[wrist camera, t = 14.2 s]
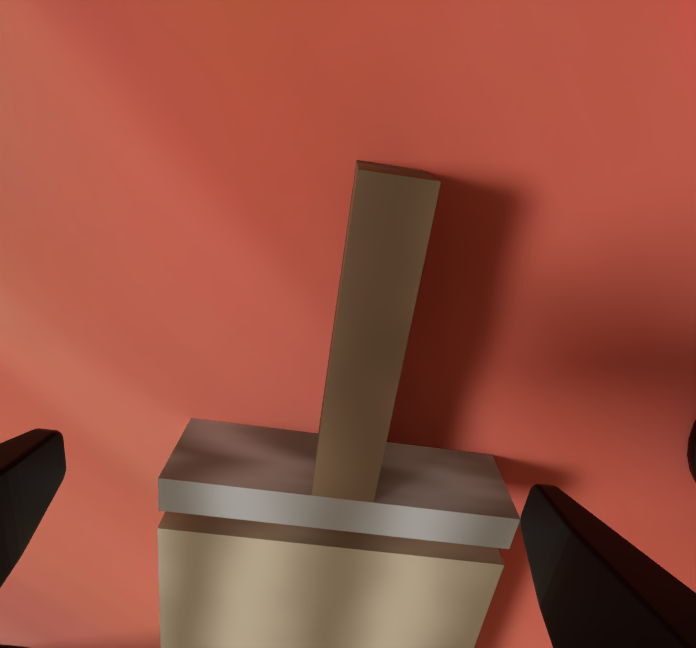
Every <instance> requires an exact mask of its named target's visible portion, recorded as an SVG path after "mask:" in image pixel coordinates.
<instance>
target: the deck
mask: <svg viewBox="0 0 696 648" xmlns="http://www.w3.org/2000/svg"><path fill="white" fill-rule="evenodd" d="M157 531H158V568H159V605H160V642H161V648H474V646H475V644H476V641H477V638H478V635H479V633H480V630H481V627H482V624H483V622H484V619H485V616H486V614H487V611H488V608H489V605H490V603H491V600H492V597H493V594H494V592H495V589H496V586H497V584H498V581H499V578H500V575H501V573H502V570H503V567H504V563H503V560H502V557H501V554H500V551H499V549H498V548H492V547H483V546H474V545H465V544H456V543H447V542H438V541H429V540H420V539H411V538H402V537H393V536H384V535H375V534H366V533H357V532H348V531H339V530H330V529H321V528H312V527H303V526H294V525H285V524H276V523H267V522H258V521H249V520H240V519H231V518H222V517H213V516H204V515H195V514H186V513H177V512H168V511H166V512H165V514H164V516H163V518H162V520H161V522H160V524H159V526H158V528H157Z"/></svg>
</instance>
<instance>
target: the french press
mask: <svg viewBox="0 0 696 648" xmlns="http://www.w3.org/2000/svg"><path fill="white" fill-rule="evenodd" d="M687 457H688V463H689V469H690V472H691V474H692V476H693V478H694V480H695V482H696V420H695V422H694V425H693V428H692V431H691V434H690V437H689V441H688V451H687Z"/></svg>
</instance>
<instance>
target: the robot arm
mask: <svg viewBox="0 0 696 648" xmlns="http://www.w3.org/2000/svg"><path fill="white" fill-rule="evenodd" d="M65 472H66V460H65V451H64V441H63V436H62V434H61V432H59V431H57V430H49V429H34V430H31V431H29V432H26V433H24V434H22V435H19V436H17V437H15V438H12V439H10V440H7V441H5V442H3V443H0V587H1V586H2V584H3V583H4V582H5V580H6V579H7V577H8V576H9V574H10V573H11V571H12V570H13V568H14V567H15V565H16V564H17V562H18V560H19V559H20V557H21V556H22V554H23V552H24V550H25V549H26V547H27V545H28V544H29V542H30V540H31V538H32V536H33V534H34V532H35V531H36V529H37V527H38V525H39V523H40V521H41V520H42V518H43V516H44V514H45V512H46V510H47V508H48V507H49V505H50V503H51V501H52V499H53V497H54V496H55V494H56V492H57V490H58V488H59V486H60V484H61V483H62V481H63V478H64V476H65ZM520 524H521V531H522V535H523V540H524V544H525V548H526V552H527V557H528V561H529V565H530V570H531V574H532V578H533V582H534V587H535V591H536V595H537V599H538V603H539V606H540V610H541V613H542V616H543V619H544V622H545V625H546V628H547V631H548V634H549V637H550V640H551V643H552V645H553V648H696V593H695V592H694V591H692V590H691V589H690V588H688V587H687V586H686V585H684V584H683V583H682V582H680V581H679V580H678V579H677V578H675V577H674V576H673V575H671V574H670V573H669V572H667V571H666V570H665V569H663V568H662V567H661V566H660V565H658V564H657V563H656V562H654V561H653V560H652V559H650V558H649V557H648V556H647V555H645V554H644V553H643V552H641V551H640V550H639V549H637V548H636V547H635V546H633V545H632V544H631V543H630V542H628V541H627V540H626V539H624V538H623V537H622V536H620V535H619V534H618V533H616V532H615V531H614V530H613V529H611V528H610V527H609V526H607V525H606V524H605V523H603V522H602V521H601V520H599V519H598V518H597V517H596V516H594V515H593V514H592V513H590V512H589V511H588V510H586V509H585V508H584V507H582V506H581V505H580V504H579V503H577V502H576V501H575V500H573V499H572V498H571V497H569V496H568V495H567V494H566V493H564V492H563V491H562V490H560V489H559V488H558V487H556V486H553V485H544V484H535V485H533V486H532V487H531V489H530V492H529V495H528V497H527V500H526V503H525V506H524V509H523V511H522V514H521V520H520Z"/></svg>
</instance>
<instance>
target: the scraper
mask: <svg viewBox="0 0 696 648" xmlns="http://www.w3.org/2000/svg"><path fill="white" fill-rule="evenodd" d="M440 184H441V181H439V180H438V179H436V178H434V177H433V176H431V175H429V174H428V173H426V172H424V171H423V170H419V169H412V168H405V167H399V166H392V165H385V164H379V163H372V162H365V161H359V160H357V162H356V169H355V176H354V183H353V190H352V197H351V204H350V212H349V219H348V226H347V233H346V240H345V247H344V254H343V261H342V268H341V276H340V283H339V290H338V297H337V304H336V311H335V318H334V325H333V332H332V339H331V347H330V354H329V361H328V368H327V375H326V382H325V389H324V396H323V403H322V411H321V418H320V425H319V432H318V434H317V433H309V432H301V431H292V430H284V429H276V428H268V427H259V426H251V425H243V424H235V423H226V422H218V421H210V420H202V419H193V418H191V419H190V421H189V423H188V425H187V427H186V429H185V430H184V432H183V434H182V436H181V438H180V439H179V441H178V443H177V445H176V447H175V449H174V450H173V452H172V454H171V456H170V458H169V460H168V461H167V463H166V465H165V467H164V469H163V471H162V472H161V474H160V476H159V478H158V488H159V511H168V512H177V513H186V514H195V515H204V516H213V517H222V518H231V519H240V520H249V521H258V522H267V523H276V524H285V525H294V526H303V527H312V528H321V529H330V530H339V531H348V532H357V533H366V534H375V535H384V536H393V537H402V538H411V539H420V540H429V541H438V542H447V543H456V544H465V545H474V546H483V547H492V548H501V549H510V546H511V543H512V541H513V538H514V535H515V533H516V530H517V527H518V524H519V522H520V518H519V515H518V513H517V511H516V508H515V506H514V504H513V501H512V499H511V497H510V494H509V492H508V490H507V487H506V485H505V483H504V480H503V478H502V476H501V473H500V471H499V469H498V467H497V464H496V462H495V460H494V457H493V455H490V454H482V453H474V452H465V451H457V450H449V449H441V448H433V447H424V446H416V445H408V444H400V443H391V442H387V437H388V432H389V427H390V423H391V418H392V413H393V408H394V404H395V399H396V394H397V389H398V385H399V380H400V375H401V370H402V365H403V361H404V356H405V351H406V346H407V342H408V337H409V332H410V327H411V323H412V318H413V313H414V308H415V304H416V299H417V294H418V289H419V285H420V280H421V275H422V270H423V265H424V261H425V256H426V251H427V246H428V242H429V237H430V232H431V227H432V223H433V218H434V213H435V208H436V204H437V199H438V194H439V189H440Z"/></svg>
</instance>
